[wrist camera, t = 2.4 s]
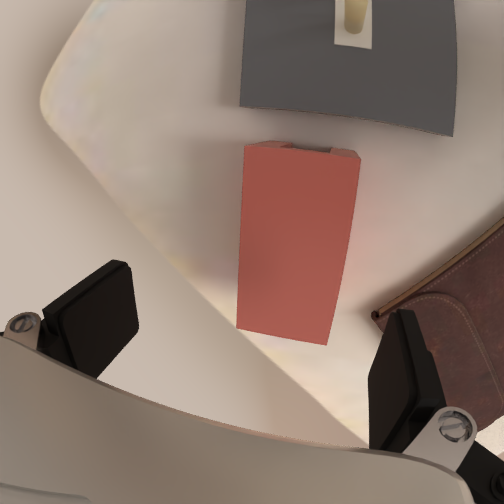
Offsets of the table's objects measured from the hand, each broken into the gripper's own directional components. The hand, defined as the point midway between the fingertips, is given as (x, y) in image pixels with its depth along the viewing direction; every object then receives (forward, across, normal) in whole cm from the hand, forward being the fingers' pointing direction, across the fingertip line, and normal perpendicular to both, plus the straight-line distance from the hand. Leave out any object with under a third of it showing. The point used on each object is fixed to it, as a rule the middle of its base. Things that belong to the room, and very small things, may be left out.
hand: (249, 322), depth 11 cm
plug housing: (+11, -1, 0) cm, 11 cm away
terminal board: (+11, -3, -16) cm, 20 cm away
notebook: (+11, -19, +7) cm, 23 cm away
